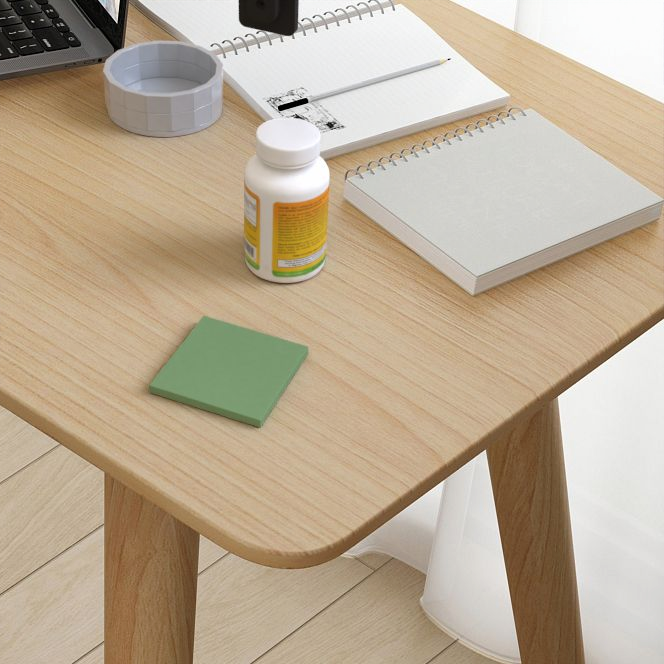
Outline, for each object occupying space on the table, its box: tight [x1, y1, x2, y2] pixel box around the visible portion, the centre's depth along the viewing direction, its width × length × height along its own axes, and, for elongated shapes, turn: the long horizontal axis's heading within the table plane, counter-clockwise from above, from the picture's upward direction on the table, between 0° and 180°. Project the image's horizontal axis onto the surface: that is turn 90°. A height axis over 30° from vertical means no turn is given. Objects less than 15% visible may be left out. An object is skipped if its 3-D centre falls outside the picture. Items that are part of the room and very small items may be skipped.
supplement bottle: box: [243, 117, 331, 284], centre depth 76 cm, size 5×5×10 cm
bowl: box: [102, 40, 224, 138], centre depth 93 cm, size 9×9×4 cm
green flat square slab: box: [148, 315, 309, 428], centre depth 70 cm, size 7×7×1 cm
